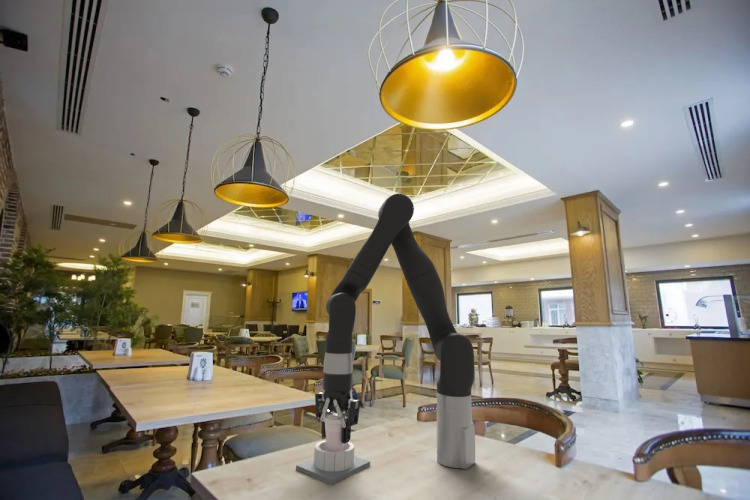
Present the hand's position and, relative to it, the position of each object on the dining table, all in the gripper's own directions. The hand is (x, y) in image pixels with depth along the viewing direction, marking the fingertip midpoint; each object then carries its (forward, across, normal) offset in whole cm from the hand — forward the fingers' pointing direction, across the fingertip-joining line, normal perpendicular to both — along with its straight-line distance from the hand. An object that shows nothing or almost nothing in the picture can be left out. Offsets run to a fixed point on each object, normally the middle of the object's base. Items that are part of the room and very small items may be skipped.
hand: (335, 439), depth 93 cm
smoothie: (+4, 0, 0) cm, 4 cm away
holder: (+7, 0, 0) cm, 7 cm away
